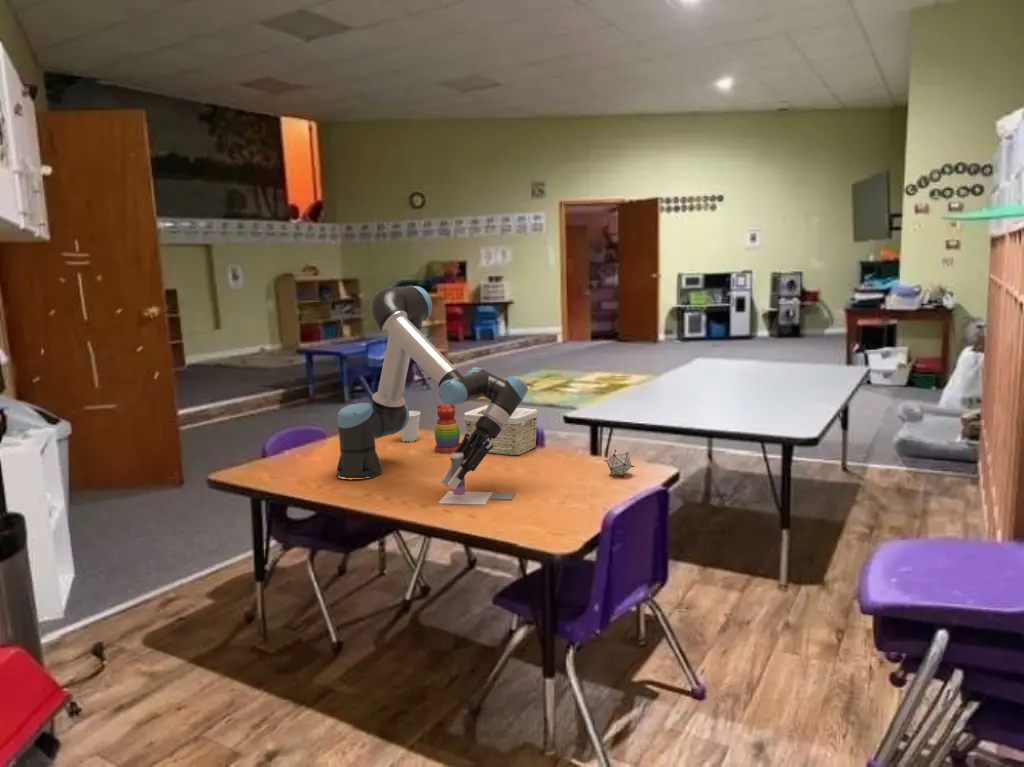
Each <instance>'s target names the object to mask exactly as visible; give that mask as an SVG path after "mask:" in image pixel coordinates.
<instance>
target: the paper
mask: <svg viewBox="0 0 1024 767" xmlns="http://www.w3.org/2000/svg"><path fill="white" fill-rule="evenodd" d="M493 493H494V492H493V491H465V494H463V495H454V494H453V490H451V491H450V490H449V491H448V490H447V492H446V494H445V495H444V496H443V497H442V498H441V499H440V500H439V501H438V504H443V505H473V506H474V505H475V506H476V505H477V506H486V504H487V502H488V501H489V499H490V498H492V496H493V495H494V494H493Z"/></svg>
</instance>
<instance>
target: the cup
mask: <svg viewBox="0 0 1024 767" xmlns="http://www.w3.org/2000/svg"><path fill="white" fill-rule="evenodd" d="M408 411H409V420H408V423H407V425H406V426H405V428H404V429H402V430H401V431H399V434H400V437H401V441H402V442H403V441H407V442H406V443H409V442H408V441H414V442H416V441H417V440H418V437H419V426H420V417H421V414H422V413H421V412H420V411H418V410H408ZM415 440H416V441H415Z"/></svg>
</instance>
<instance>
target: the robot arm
mask: <svg viewBox="0 0 1024 767" xmlns="http://www.w3.org/2000/svg"><path fill="white" fill-rule="evenodd" d="M369 308H370V316H371V318H372V321H373V322H374V324H375V325H376V326H377V329H379V330H380V331H381V332H382V333H383V334H384V335H386V336H387V342H386V348H385V353H384V357H383V363H382V369H381V373H380V378H379V379H380V380H379V383H378V389H377V391H376V392H374V393H373V394H372V396H371V402H370V403H369V402H368V403H367V402H357V403H353V404H348V405H345V406H344V407H342V408H341V409H340V410H339V411H338V413H337V427H338V429H337V430H338V436H339V437H338V438H339V451H340V452H339V454H340V455H339V459H338V463H337V466H336V476H337V475H338V476H340V477H345V478H366V477H372V476H376V475H378V474H380V473H381V472H382V473H383V465H382V462H381V460H380V457H379V456H378V453H377V451H376V439H379V438H383V437H386V436H389V435H390V436H391V435H394V434H397V433H398V432H399V433H400V431H401V430H402V429H404V428H405V426H406V425H407V423H408V420H409V411H410V410H408V409H409V408H408V405H407V402H406V401H407V400H406V399H405V398H404V397H403V394H404V390H405V386H406V381H407V380H406V379H407V376H408V375H407V374H408V372H409V371H408V370H409V366H410V360H411V359H412V360H413V361H414V363H416V364H417V366H418V367H419V368H421V370H422V371H423V372H424V373H425V374H426V375H427V376H428V377H429V378H430V379H431V381H432V382H434V384H436V385H437V387H438V394H439V396H440V400H441V401H442V402H443V404H448V405H455V406H456V405H461V404H463V403H466V402H468V401H472V400H475V399H479V398H485V399H488V400H490V401H491V402H490V403H489V404H488V407H487V408H486V410H485V411H484V412H483V416H481V417H480V418H479V420H478V421H477V422H476V424H475V426H476V430H475V431H474V432H473V433H472V434H471V435H469V434H468V433H467V434H466V433H465V434H464V437H463V439H462V440H461V442H460V443H461V444H460V445H459V447H458V448H457V450H456V451H455V453H463V460H464V464H461V466H462V467H463V468H462V467H459V468H458V470H457V471H456V473H455V474H454V476H453V477H452V464H451V465H450V466H449V468H448V469H447V471H446V473H445V474H444V475H443V477H442V478H441V480H440V481H439V482H441V484H443V485H444V486H445V487H450V488H451V489H452V491H453V490H455V489H456V487H457V486H458V484H459V483H460V482H461V480H462V479H463V478H464V476H466V475H467V473H469V472H475V470H476V469H477V467H478V466H479V464H481V462H482V461H483V460H484V458H485V457H486V455H487V454H488V451H489V450H491V449H492V448H493V446H494V445H493V444H492V443H491V442H490V441H491V439H495V438H496V437H497V436H498V434H499V433H500V431H501V428H502V427H504V425H505V424H506V423H507V421H508V419H509V418H510V417H511V415H512V414H513V412H514V411H515V409H516V408H519V405H520V404H521V402H523V400H524V398H525V397H526V395H527V393H528V391H529V387H528V385H527V384H526V382H525V381H523V380H522V379H521V378H519V377H517V376H516V375H509V376H508V377H507V378H506V379H503V378H501V377H499V376H497V375H495V374H493V373H492V372H489V371H488V370H486V369H484V368H480V367H478V366H474V367H472V368H470V370H468V371H467V373H466V374H465V375H463V374H461V372H460V371H458V369H456V368H455V366H454V365H453V364H452V363H451V362H450V361H449V360H448V359H447V358H446V357H445V356H444V355H443V354H442V353H441V352H440V350H438V349H437V348H436V347H435V345H433V343H432V342H430V340H428V338H427V337H426V336H425V334H423V333H422V332H421V330H422V326H423V325H422V324H423V321H425V320H427V319H428V318H430V316H431V314H432V311H433V302H432V299H431V297H430V296H429V293H428V292H427V291H426V289H425V288H423V287H421V286H418V285H407V286H398V287H396V286H395V287H385V288H383V289H380V290H378V291H377V292H376V293H375V294H374V296H373V297H372V299H371V301H370V306H369ZM470 444H471V445H472V446H471V445H470ZM450 461H451V458H450ZM382 473H381V474H382ZM381 474H380V475H381ZM378 476H379V475H378ZM376 477H377V476H376Z"/></svg>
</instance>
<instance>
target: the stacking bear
mask: <svg viewBox="0 0 1024 767" xmlns="http://www.w3.org/2000/svg"><path fill="white" fill-rule="evenodd" d="M436 408H437V412H436V413H437V417H438V419H437V421H436V423H435V426H434V427H435V429H434V440H435V442H436V444H435V446H434V451H435V452H436V453H438V452H439V454H444V453H447V454H452V453H451V452H455V451H456V450H457V448H458V447H459V445H460V444H461V442H460V437H461V432H460V427H459V423H458V421H457V419H456V418H455V416H456V404H455V405H448V404H445V403H443V404H441V403H439V404H437V406H436Z"/></svg>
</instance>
